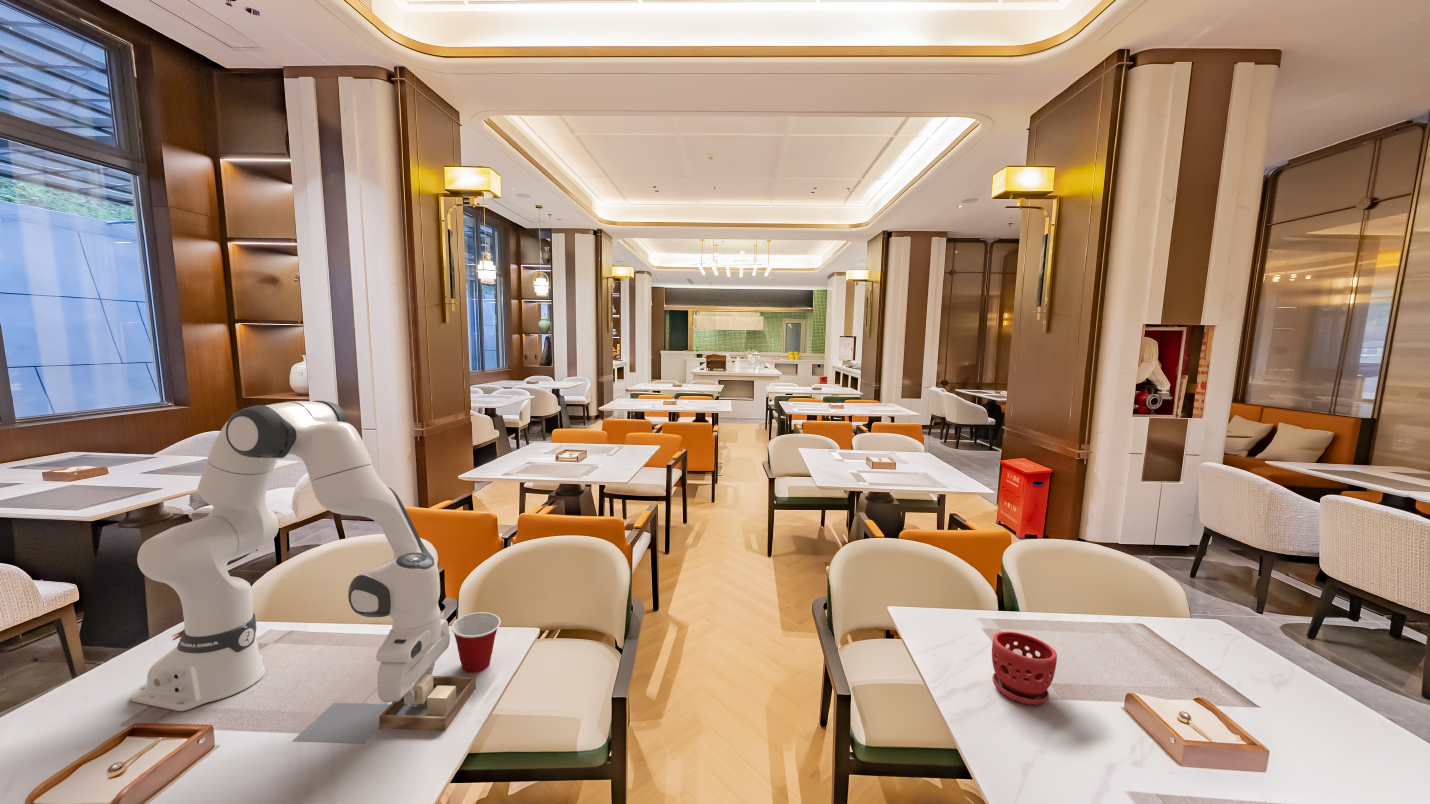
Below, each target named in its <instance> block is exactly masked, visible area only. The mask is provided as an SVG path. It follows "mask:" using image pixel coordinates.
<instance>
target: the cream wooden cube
mask: <svg viewBox="0 0 1430 804" xmlns="http://www.w3.org/2000/svg"><path fill="white" fill-rule="evenodd" d="M433 676H434V674H433V673H432V674H423V675H422V677H421V678H420V679H419V680H418V681H417V682H416V683H415V684H414V688H413V690H414V691H417V699H416V700H415V701H414V702H413V703H412V704H411V705H424V704H425V702H427V698H428V696H429V695H430V694H431V693H432V692H433V690H434V689H433ZM407 704H408V703H405V696H404V705H407ZM408 705H409V704H408Z"/></svg>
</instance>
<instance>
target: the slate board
mask: <svg viewBox="0 0 1430 804" xmlns="http://www.w3.org/2000/svg"><path fill="white" fill-rule="evenodd" d="M390 704H391V703H389V704H387V703H384V704H383V703H358V702H357V703H356V702H333V703H332V704H331V705H330V706H328V707H327V708H326V709H325V710H324V711H323V712H322V713H321V714H320V715H318V716H317V717H316V719H314V721H312V722H311V723H310V724H309V725H308V726H307V727H306V728H305V729H304V730H303V731H301V732H300V733H299V734H298V735H297V736H296V737H295V738H293V740H292V742H297V743H298V742H304V743H305V742H306V743H331V744H332V743H333V744H335V743H337V744H363V745H365V743H367V741H368V740H369V739H370V738H371V737H372V736H373V735H374V734H375V732H376V731H377V730H378V729H380V728H379V716H380V715H381V714H382V713H383V712H384V711H385V710H386V709H387V708H388V707H389V705H390Z"/></svg>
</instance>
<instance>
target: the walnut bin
mask: <svg viewBox="0 0 1430 804" xmlns="http://www.w3.org/2000/svg"><path fill="white" fill-rule="evenodd" d="M476 679H477V678H476V677H475V676H474V677H472V676H449V675H447V676H445V675H444V676H441V675H433V690H434V689H435V688H436V687H437V686H456V691H457V690H458V691H459V690H460V691H461V692H460V694H459V695H458V696H457V697H456V701H455V702H454V703H453V704H452V706H451V707H450V708H449V710H448V711H447V712H446V714H445V715H442V716H441V715H413V714H412V715H410V714H408V715H405V714H397V713H398V712H399V711H400V710H401V709H402V708H403V707H404V705H405V704H404V696H403V697H402V698H401V700H400V701H398V702H390V703H389V704H390V705H389V707H388V708H387V709H386V710H385V711H384V712H383V713H382V714H381V715H380V716H379V728H378V729H379V730H397V731H398V730H399V731H405V730H407V731H431V732H432V731H434V732H435V731H436V732H446V730H447V729H448V728H449V726H450V725H451V724H452V722H453V721H454V719H455V718H456V717H457V715H458V714H459V713H460V711H461V710H462V708H464V705H465V704H466V703H467V702H468V701H469V699H470V697H471V695H472V694H473V693H474V691H475V690H476V687H477V686H476V685H477V684H476V682H477V680H476Z"/></svg>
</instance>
